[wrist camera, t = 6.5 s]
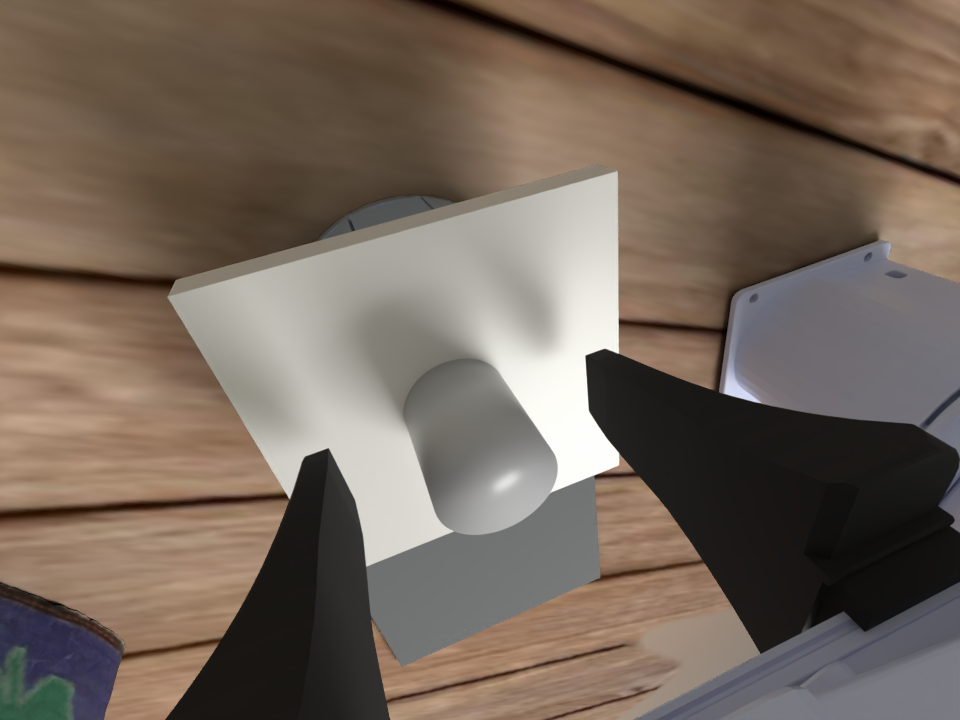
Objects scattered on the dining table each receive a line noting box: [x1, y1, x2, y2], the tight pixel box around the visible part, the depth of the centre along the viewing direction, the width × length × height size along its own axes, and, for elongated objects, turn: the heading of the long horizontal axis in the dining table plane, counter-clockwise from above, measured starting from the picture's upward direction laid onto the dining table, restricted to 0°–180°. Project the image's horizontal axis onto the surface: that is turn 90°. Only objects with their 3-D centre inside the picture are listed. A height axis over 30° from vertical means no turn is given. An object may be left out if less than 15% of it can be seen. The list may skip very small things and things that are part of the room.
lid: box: [168, 164, 619, 567], centre depth 13 cm, size 11×11×4 cm
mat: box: [366, 475, 600, 666], centre depth 27 cm, size 14×15×1 cm
